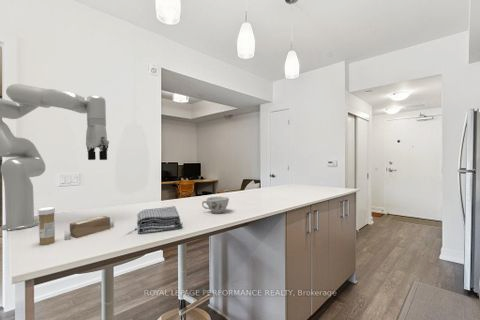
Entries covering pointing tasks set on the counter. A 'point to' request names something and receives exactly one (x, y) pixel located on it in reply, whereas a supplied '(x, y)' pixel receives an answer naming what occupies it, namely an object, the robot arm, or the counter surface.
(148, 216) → the towel
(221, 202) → the teacup
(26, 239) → the counter surface
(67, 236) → the panel
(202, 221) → the counter surface
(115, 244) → the counter surface
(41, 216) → the pill bottle
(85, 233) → the frame
